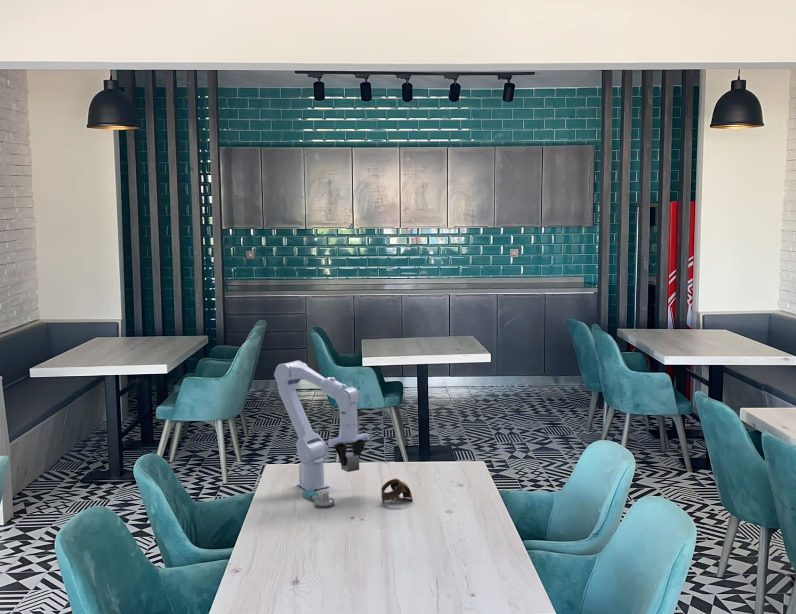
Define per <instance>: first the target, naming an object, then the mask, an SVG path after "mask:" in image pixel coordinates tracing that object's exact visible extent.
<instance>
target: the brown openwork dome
mask: <svg viewBox="0 0 796 614" xmlns="http://www.w3.org/2000/svg"><path fill="white" fill-rule="evenodd" d="M389 487H390V489H391V491H386V492H385V490H386V489H388V488H389ZM380 490H381V501H382V503H385V501H389V502H390V501H391V500H394V499H401V497H400V495H402V496H403V497H407V498H409V499H410V502H411V501H413V496H412V492H411V490H410V488H409V485H408V484H406V483H405V482H404V481H401V480H400V479H398V478H392V479H389V480H387V481H385V483H384V484H383V485H382V487H381V488H380ZM403 497H402V498H403Z"/></svg>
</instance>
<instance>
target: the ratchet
mask: <svg viewBox="0 0 796 614" xmlns="http://www.w3.org/2000/svg"><path fill="white" fill-rule="evenodd" d="M304 496H305V497H304ZM302 497H304V498H306V499H307V498H308V500H309V499H310V500H309V501H312V502H313V503H314V506H315V508H318V509H319V508H320V509H326V508H327V509H328V508H332V507H334V506H335V503H336V499H335V498H334V497H331V496H330V493H329V492H328V491H325V490H324V491H320V493H319V492H317V491H316V490H306V489H305V490H302Z"/></svg>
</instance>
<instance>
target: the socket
mask: <svg viewBox="0 0 796 614" xmlns="http://www.w3.org/2000/svg"><path fill="white" fill-rule="evenodd" d="M340 465H341V464H340ZM340 469H341V470H343V471H345V472H347V473H350V472H356V471H359V470H360V459H359V455H358V454H355V453H353V452H346V466H342V465H341V466H340Z"/></svg>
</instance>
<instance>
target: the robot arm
mask: <svg viewBox="0 0 796 614" xmlns="http://www.w3.org/2000/svg"><path fill="white" fill-rule="evenodd" d="M273 376H274V378H275V382H276V384H277V390H278V393H279V396H280V399H281V400H282V403H283V405H284V407H285V408H284V409H286V412H287V414H288V417H289V419H290V421H291V425H292V426H293V429H294V431H295V433H296V436H297V437H298V439H297V440H296V442H295V447H296V451H297V457H298V460H299V461H300V463H299V465H298V482H297V483H296V485H297V484H298V485H299V486H298V485H297V486H298V487H300V486H301V488H302V489H303V490H305V491H306V490H313V491H316V489H317V490H321V488H322V489H326V487H327V488H329V487H330V485H329V484H327V483H325V470H324V469H325V468H324V466H325V464H324V461H325V457H326V456H327V454H328V446H330V447H334V449H335V451H336V453H337V455H338V458H339V462H340V465H342V466H346V453H347V449H348V446H345V444H349V443H350V444H351V446H352V451H353V453H355V454H358V455H359V460H360V458H361V455H362V451H363V449H364V447H365V446H366V442H365V441H369V440H370V434H369V433H367V432H366V433H358V408H357V407H358V406H357V404H358V402H359V401H360V398H361V394H360V391H359V390H358V388H356V387H355V386H354V385H353V386H347V384H345V383H341V382H340V381H338V380H337V379H336V378H335V377H334V376H332V377H331V376H330V377H329V376H328V377H324V376H322V375H321V374H320V373H318V372H316V371H315V370H314V369H312V368H311V367H308V364H307V363H305V362H302V361H301V360H298V359H297V360H294V361H291V362H285V363H279V364H278V365H277V366H276V368H275V371H274V373H273ZM302 379H303V380H304V381H307V382H309V383H311V384H313V385H315V386H317V387H319V388H320V390H321V393H323V394H324V395H326V396H327V397H330V398H332V399H333V400H335V403H336V404H337V406H338V410H339V429H340V430H339V433H340V435H339V436H338V437H333V438H330V439H328V441H327V443H328V445H327V443H326V442H325V440H323V439H322V437H321V435H320V434H318V433H317V432H315V431H314V430H313V427H312V426H311V425H312V424H311V423H310V421H309V419H308V415H307V414H306V412H305V409H304V407H303V405H302V402H301V401H300V398H299V396H298V393H297V391H296V390H297V387H298V385H299V384H300V382H301V381H302Z"/></svg>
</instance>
